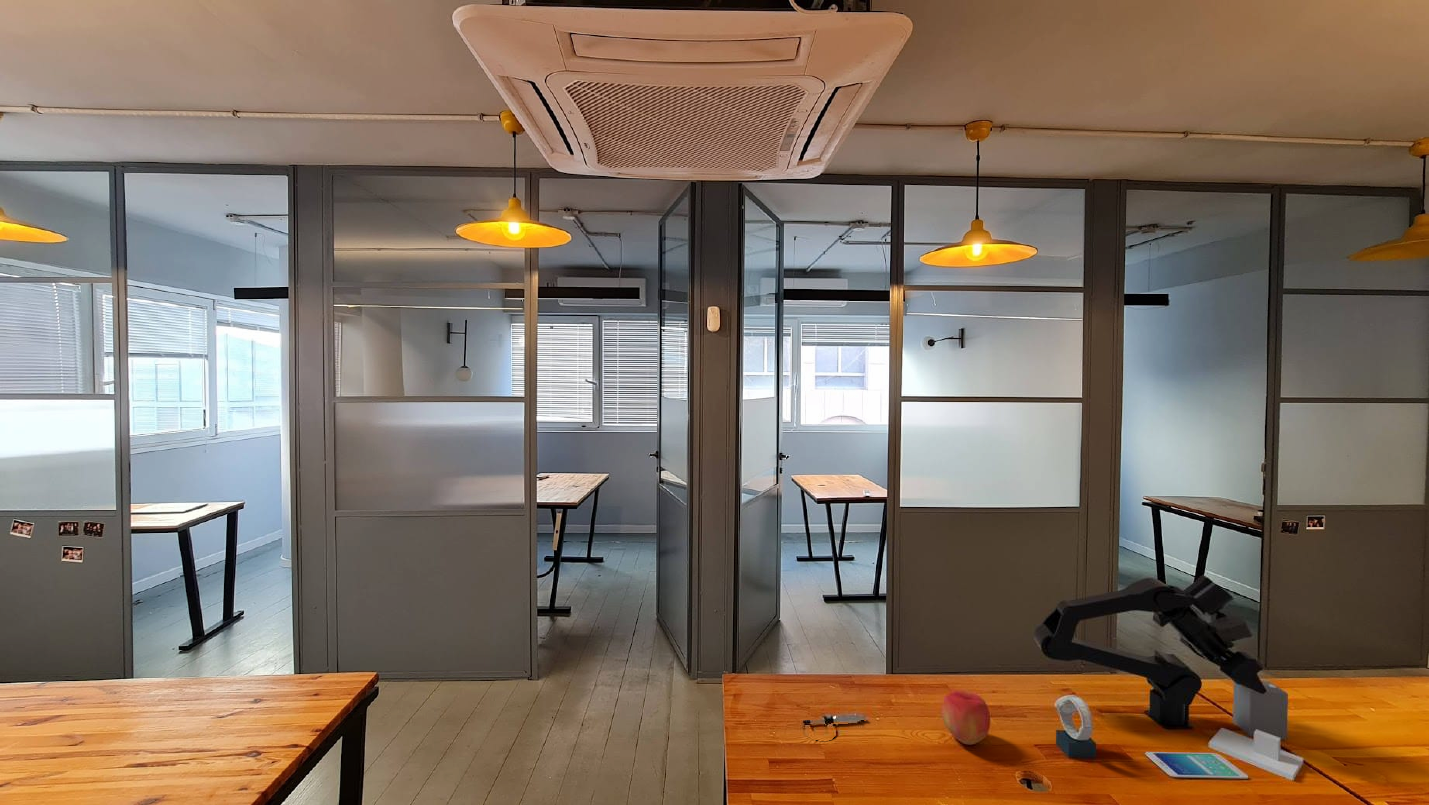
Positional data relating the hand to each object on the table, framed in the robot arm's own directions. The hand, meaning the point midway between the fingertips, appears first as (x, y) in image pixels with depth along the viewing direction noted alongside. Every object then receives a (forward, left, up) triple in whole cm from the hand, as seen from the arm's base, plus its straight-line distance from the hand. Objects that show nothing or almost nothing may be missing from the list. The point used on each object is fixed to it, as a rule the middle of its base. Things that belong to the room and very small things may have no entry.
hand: (1248, 681), depth 124 cm
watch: (-43, -6, -11) cm, 45 cm away
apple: (-64, -2, -11) cm, 65 cm away
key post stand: (-7, -8, -11) cm, 15 cm away
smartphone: (-22, -12, -11) cm, 27 cm away
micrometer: (-90, +2, -11) cm, 91 cm away
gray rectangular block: (+2, 0, -11) cm, 11 cm away
